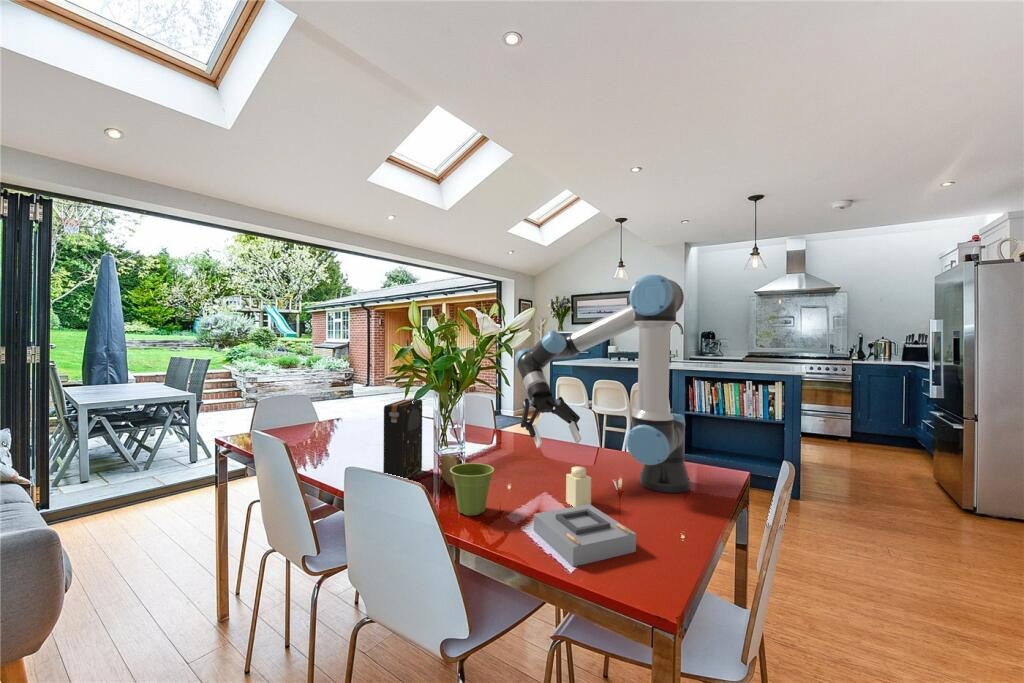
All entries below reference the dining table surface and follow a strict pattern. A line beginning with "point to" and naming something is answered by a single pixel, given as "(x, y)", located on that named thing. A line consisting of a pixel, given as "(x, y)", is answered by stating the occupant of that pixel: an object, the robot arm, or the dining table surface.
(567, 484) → the dome-topped cream pillar
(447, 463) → the wooden carving
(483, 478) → the plant pot
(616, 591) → the dining table surface
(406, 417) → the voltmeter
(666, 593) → the dining table surface
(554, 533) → the ball-topped post base
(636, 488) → the dining table surface
